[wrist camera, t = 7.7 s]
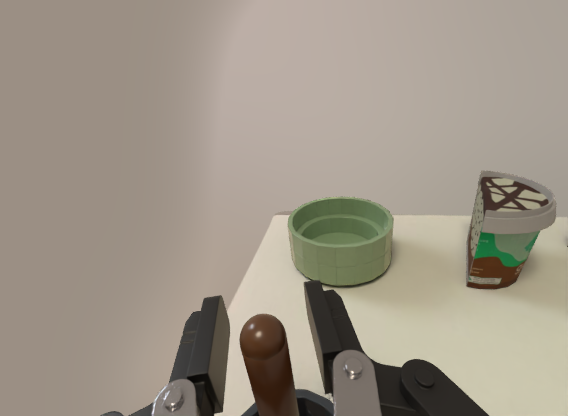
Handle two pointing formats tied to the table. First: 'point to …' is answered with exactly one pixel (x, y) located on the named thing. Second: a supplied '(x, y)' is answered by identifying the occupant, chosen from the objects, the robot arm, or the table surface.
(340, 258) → the bowl
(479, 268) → the food container
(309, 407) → the crock
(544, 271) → the table surface
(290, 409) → the brown peg stand
